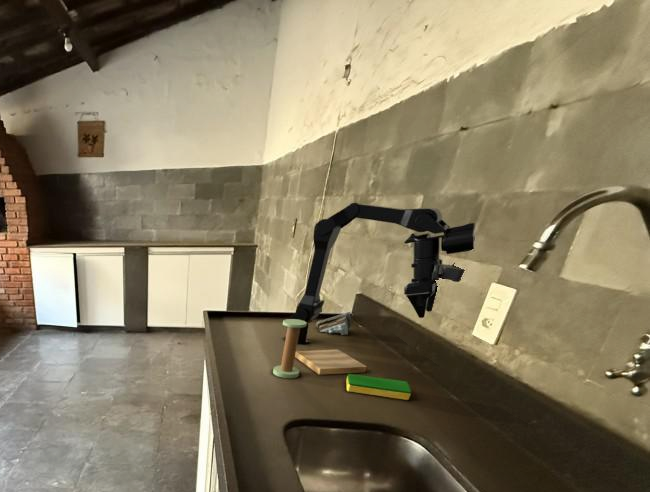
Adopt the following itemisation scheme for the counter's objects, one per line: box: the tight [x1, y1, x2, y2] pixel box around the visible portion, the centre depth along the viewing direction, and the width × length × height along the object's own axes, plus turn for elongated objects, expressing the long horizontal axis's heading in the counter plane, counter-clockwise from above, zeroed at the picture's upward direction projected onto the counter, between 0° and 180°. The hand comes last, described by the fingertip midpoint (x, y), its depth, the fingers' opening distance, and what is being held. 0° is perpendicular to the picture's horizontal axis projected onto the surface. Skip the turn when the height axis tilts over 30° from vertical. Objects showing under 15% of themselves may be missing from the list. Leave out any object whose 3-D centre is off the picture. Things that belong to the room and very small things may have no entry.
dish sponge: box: [345, 373, 412, 401], centre depth 109 cm, size 7×14×2 cm, turn 65°
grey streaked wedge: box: [315, 311, 353, 336], centre depth 154 cm, size 10×7×12 cm
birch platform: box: [295, 349, 368, 376], centre depth 126 cm, size 15×14×2 cm
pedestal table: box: [272, 318, 307, 379], centre depth 117 cm, size 7×7×15 cm
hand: (425, 314), depth 118 cm, fingers open, 9 cm apart
